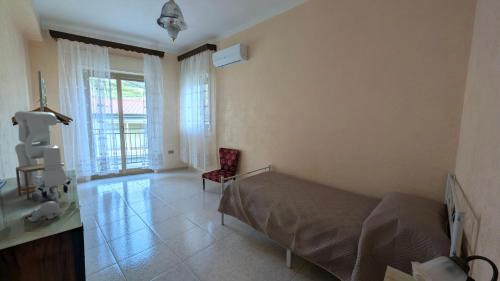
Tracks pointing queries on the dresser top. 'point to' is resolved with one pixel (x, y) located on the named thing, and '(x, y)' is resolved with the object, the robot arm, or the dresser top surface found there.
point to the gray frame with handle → (48, 195)
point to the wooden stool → (25, 170)
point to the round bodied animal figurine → (46, 211)
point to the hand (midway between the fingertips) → (55, 195)
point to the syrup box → (37, 180)
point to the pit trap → (31, 189)
